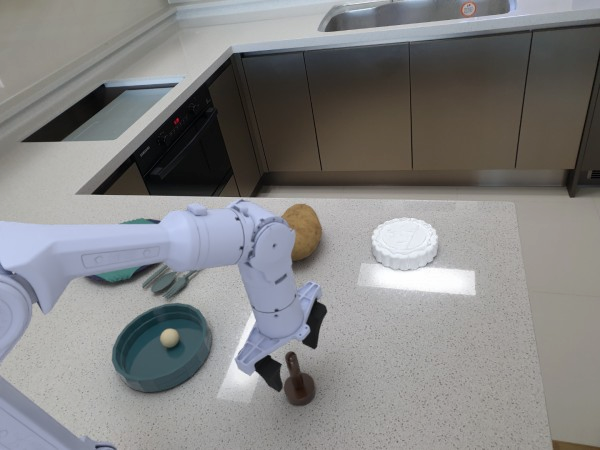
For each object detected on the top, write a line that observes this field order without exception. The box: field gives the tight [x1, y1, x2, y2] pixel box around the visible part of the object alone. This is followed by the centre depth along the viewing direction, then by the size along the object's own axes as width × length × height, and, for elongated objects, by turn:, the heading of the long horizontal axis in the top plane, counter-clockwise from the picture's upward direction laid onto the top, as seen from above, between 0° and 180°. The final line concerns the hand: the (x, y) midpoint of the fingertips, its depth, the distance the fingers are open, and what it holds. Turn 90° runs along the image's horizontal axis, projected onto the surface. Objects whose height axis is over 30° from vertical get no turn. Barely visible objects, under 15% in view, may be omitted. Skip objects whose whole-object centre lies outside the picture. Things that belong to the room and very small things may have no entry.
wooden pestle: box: [283, 350, 317, 407], centre depth 63 cm, size 4×4×9 cm
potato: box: [280, 203, 323, 262], centre depth 88 cm, size 10×14×8 cm
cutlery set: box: [86, 217, 199, 300], centre depth 96 cm, size 20×30×2 cm, turn 56°
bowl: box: [111, 302, 213, 393], centre depth 74 cm, size 15×15×4 cm
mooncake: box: [370, 216, 439, 272], centre depth 85 cm, size 12×12×4 cm
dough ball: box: [160, 329, 179, 348], centre depth 75 cm, size 3×3×3 cm
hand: (293, 365), depth 62 cm, fingers open, 7 cm apart
